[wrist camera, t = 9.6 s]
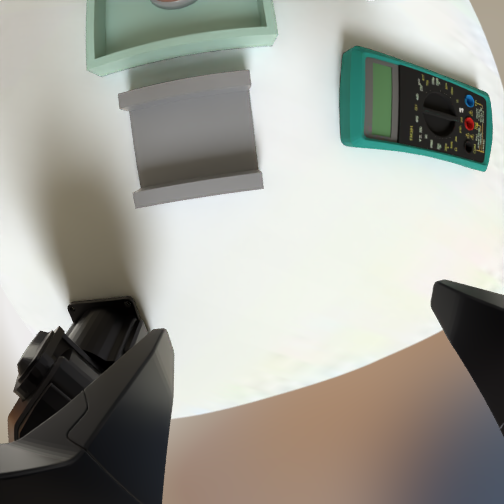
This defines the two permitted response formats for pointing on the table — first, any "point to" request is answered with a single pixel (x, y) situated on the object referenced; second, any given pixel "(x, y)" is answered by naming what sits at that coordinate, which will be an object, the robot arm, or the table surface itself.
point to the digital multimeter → (412, 110)
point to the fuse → (172, 4)
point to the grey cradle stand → (193, 138)
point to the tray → (171, 30)
